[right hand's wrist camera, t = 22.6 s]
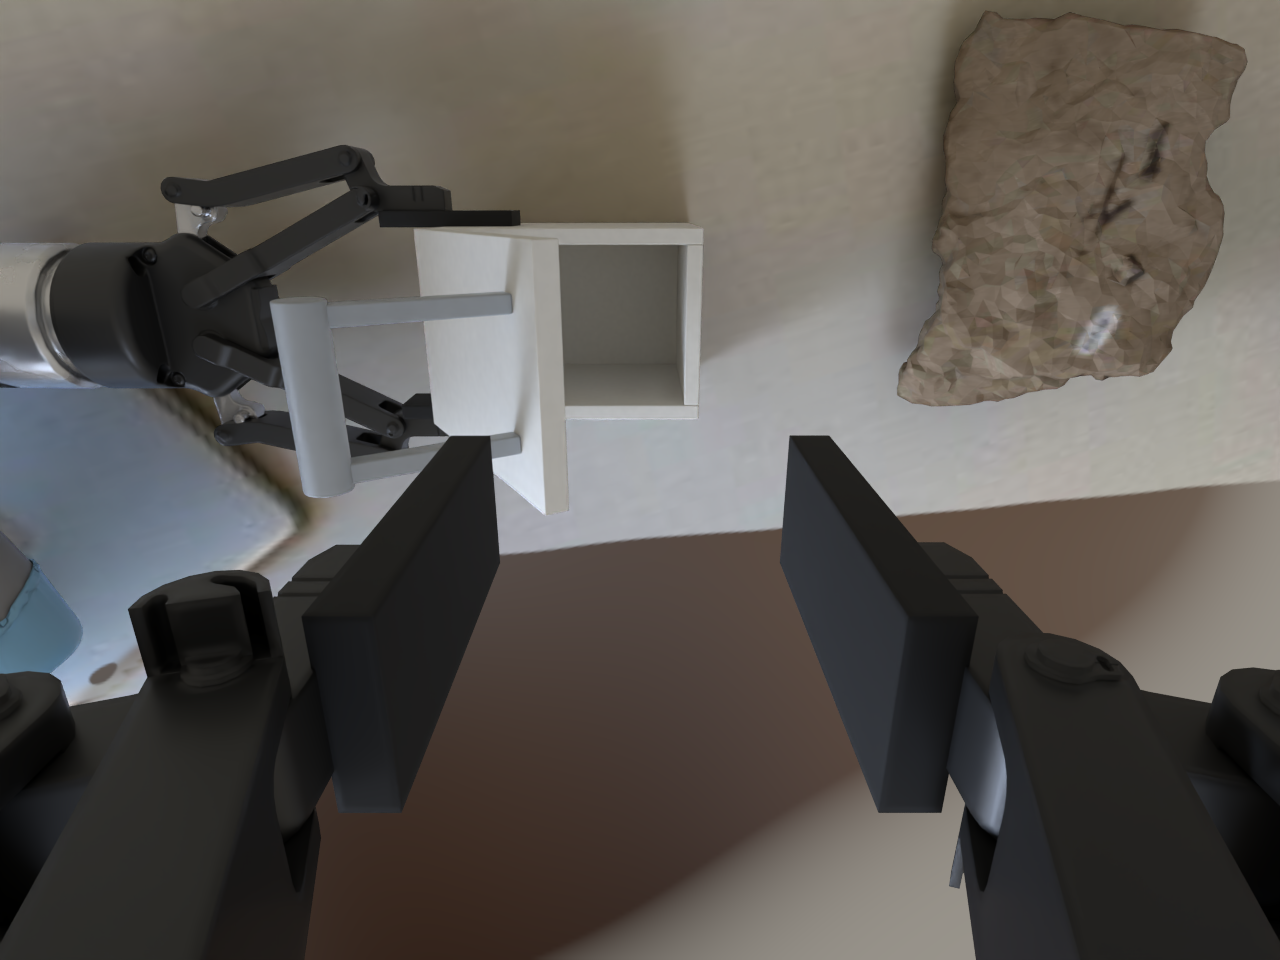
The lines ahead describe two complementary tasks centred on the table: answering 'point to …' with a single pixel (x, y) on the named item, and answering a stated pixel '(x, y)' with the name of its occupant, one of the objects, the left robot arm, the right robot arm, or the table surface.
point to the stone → (1071, 204)
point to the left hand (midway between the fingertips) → (521, 316)
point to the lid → (446, 364)
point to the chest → (627, 316)
